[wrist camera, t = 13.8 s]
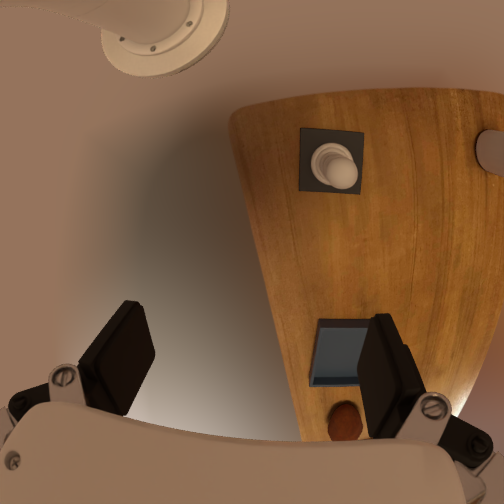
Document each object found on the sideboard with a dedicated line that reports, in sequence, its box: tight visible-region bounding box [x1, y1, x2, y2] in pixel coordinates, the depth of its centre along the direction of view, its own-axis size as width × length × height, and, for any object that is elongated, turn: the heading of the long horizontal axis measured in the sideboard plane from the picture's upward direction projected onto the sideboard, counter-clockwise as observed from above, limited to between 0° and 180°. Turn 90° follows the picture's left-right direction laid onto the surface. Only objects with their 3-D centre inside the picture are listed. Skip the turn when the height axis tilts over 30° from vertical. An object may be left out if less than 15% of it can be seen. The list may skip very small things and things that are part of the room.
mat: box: [299, 128, 364, 195], centre depth 34 cm, size 8×8×1 cm
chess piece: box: [311, 143, 358, 189], centre depth 30 cm, size 5×5×9 cm
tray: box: [309, 319, 370, 387], centre depth 46 cm, size 14×11×2 cm
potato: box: [328, 404, 363, 441], centre depth 51 cm, size 8×12×8 cm, turn 11°
